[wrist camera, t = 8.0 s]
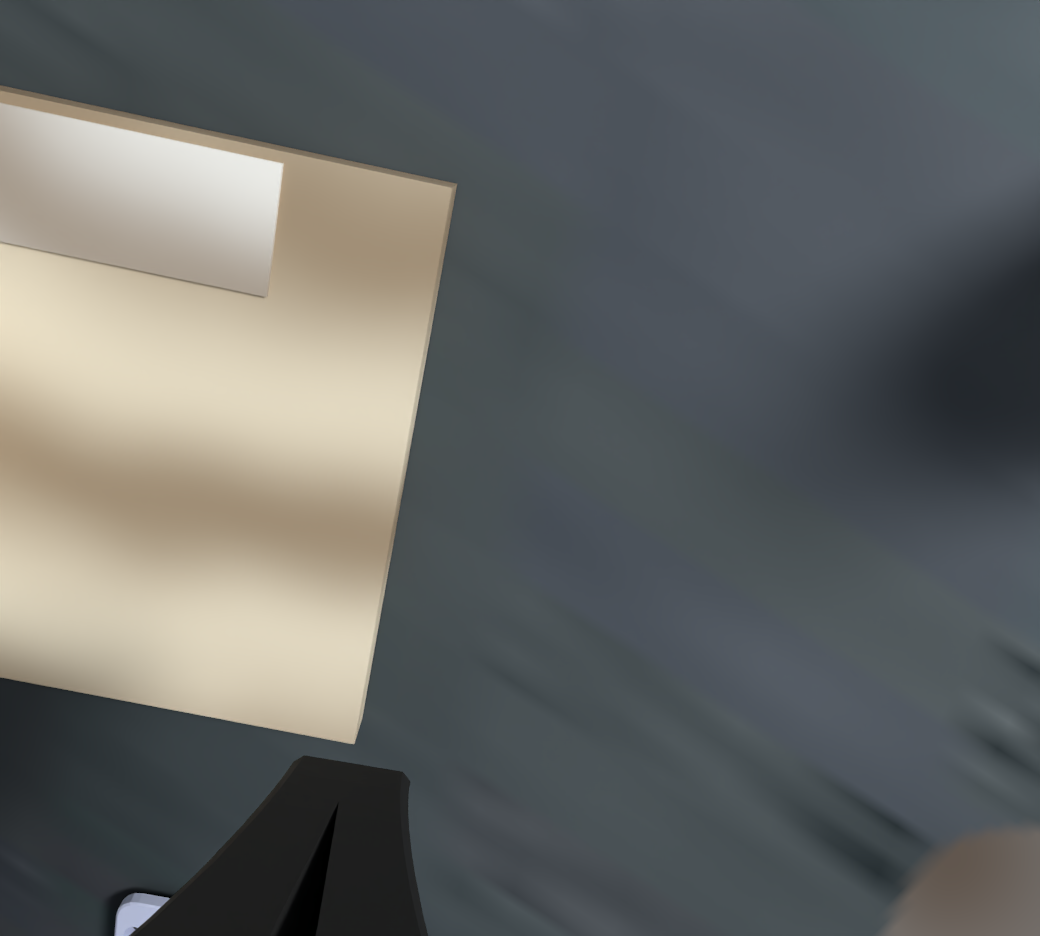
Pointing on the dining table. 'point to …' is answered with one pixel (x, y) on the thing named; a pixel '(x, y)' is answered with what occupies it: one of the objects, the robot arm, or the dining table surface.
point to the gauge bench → (204, 410)
